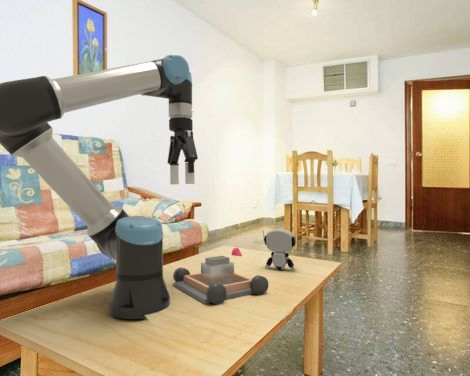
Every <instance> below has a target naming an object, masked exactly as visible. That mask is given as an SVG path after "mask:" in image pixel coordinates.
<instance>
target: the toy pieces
mask: <svg viewBox="0 0 470 376" xmlns="http://www.w3.org/2000/svg"><path fill="white" fill-rule="evenodd" d="M231 256H235V257H243V255H242V252H241V251H240V248H239V247H234V248H233V249H232V251H231Z"/></svg>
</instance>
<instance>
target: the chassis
mask: <svg viewBox="0 0 470 376" xmlns="http://www.w3.org/2000/svg"><path fill="white" fill-rule="evenodd" d="M172 277H173V281H174V282H173V286H174V287H175V288H176V289H178V290H180V291H182V292H183V293H185V294H187V295H188V296H189V297H192V298H194V299H195V300H197V302H200V303H201V304H203V305H208V304H214V305H220V304H222V303H223V302H224V301H226V300H231V299H235V298H241V297H245V296H250V295H254V294H256V295H259V296H261V295H264V294H265V293H267V291H268V289H269V280H268V279H267V278H266V277H265V276H262V275H259V274H258V275H255V276H253V277H252V278H251V277H248V276H245V275H243V274H239V273H237V272H235V271H234V283H232V284H227V285H220V284H218V283H213V284H211V285H210V286H208V285H206V284H204V283H201V272H200V273H199V272H198V273H193V274H192V273H191V272H190V271H189V269H187V268H185V267H177V268H176V269H175V270H174V271H173V275H172Z"/></svg>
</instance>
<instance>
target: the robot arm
mask: <svg viewBox="0 0 470 376" xmlns="http://www.w3.org/2000/svg"><path fill="white" fill-rule="evenodd" d="M138 95H140V96H143V97H144V96H146V97H155V98H162V99H168V117H169V120H168V127H169V129H168V130H170V132H173V134H174V135H170V141H169V147H168V148H169V149H168V156H167V164H168V165H169V173H170V174H169V177H170V179H169V180H170V181H169V183H170V185H179V183H180V181H179V178H180V177H179V176H180V175H179V174H180V173H179V168H180V167H179V166H180V164H179V160H180V159H179V158H180V155H181V153H183V155H184V156H183V157H184V158H185V159H184V168H185V171H184V172H185V173H184V174H185V175H184V179H185V180H184V182H185V185H195V184H196V183H195V181H196V179H195V163H196V161H197V160H198V159H199V158H198V154H197V149H196V148H197V147H196V144H195V140H194V132H193V130H194V129H193V119H192V118H193V113H194V109H193V78H192V73H191V71H190V67H189V63H188V61H187V59H185V57H184V56H182V55H181V54H179V53H171V54H168V55H165V56H164V57H163V58H159V59H154V60H151V61H150V60H149V61H144V62H139V63H134V64H127V65H121V66H117V67H111V68H107V69H101V70H97V71H90V72H85V73H80V74H74V75H69V76H68V75H67V76H63V77H58V78H50V77H49V76H47V75H42V76H37V77H30V78H23V79H16V80H10V81H5V82H0V145H1V147H3V148H4V149H5V151H6V152H7V153H9V154H10V155H11V156H12V157H16V158H17V157H18V158H22V159H23V160H24V161H25V162H26V163H27V164H28V165H29V166H30V167H31V168H32V169H33V170H34V171H35V172H36V173H37V175H38V176H39V177H40V178H41V179H42V180H43V181H44V182H45V183H46V184H47V185H48V186H49V187H50V189H52V190H53V191H54V192H55V194H56V195H58V197H59V198H60V199H61V200H62V201H63V202H64V203H65V204H66V205H67V206H68V207H69V208H70V210H72V212H73V213H74V214H75V215H77V216H78V217H79V219H80V220H81V221H82V222H83V223H84V224H85V225H86V226H87V230H86V232H87V236H89V238H90V239H91V240H92V241H93V242H94V243H95V244H96V246H97V248H98V250H99V251H100V252H101V254H102V255H104V256H106V257H107V258H110V259H114V260H115V261H116V262H115V263H116V265H115V267H116V269H115V270H116V282H115V285H114V288H113V291H112V294H111V298H110V301H109V314H110V315H111V316H112V317H114V318H118V319H124V320H137V319H138V320H139V319H146V318H147V316H146V315H151V314H152V315H153V314H155V313H159V312H161V311H164V310H165V309H168V307H169V306H170V305H171V297H170V293H169V291H168V288H167V285H166V282H165V280H164V247H163V246H164V244H163V241H164V240H163V239H164V232H163V224H162V222H161V221H160V220H159V219H157V218H155V217H150V216H148V217H147V216H135V215H134V216H133V215H132V216H129V214H128V213H127V212H126V210H124V209H123V208H122V206H118V205H117V206H114V205H112V203H111V202H110V201H109V200H108V199H107V197H106V196H104V194H103V193H102V192H101V191H100V190H99V188H97V186H96V185H95V184H94V182H92V181H91V179H90V178H89V177H88V176H87V175H86V174H85V173H84V172H83V170H82V169H81V168H80V167H79V166H78V165H77V164H76V162H75V161H74V160H73V159H72V158H71V157H70V156H69V155H68V154H67V152H66V151H65V150H64V149H63V147H62V146H61V145H60V144H59V143H58V142H57V141H56V140H55V139H54V138H53V137H54V136H53V131H54V129H53V127H52V126H51V125H50V123H49V122H52V121H56V120H60V119H62V118H63V116H64V114H65V113H69V112H72V111H74V112H75V111H77V110H81V109H85V108H89V107H93V106H97V105H102V104H106V103H110V102H113V101H118V100H122V99H125V98H129V97H134V96H138ZM181 151H182V152H181Z"/></svg>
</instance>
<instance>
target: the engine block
mask: <svg viewBox="0 0 470 376" xmlns="http://www.w3.org/2000/svg"><path fill="white" fill-rule="evenodd" d="M234 272H235V262H233V261H230V257H229V256H225V255H219V256H218V255H217V256H211V257H210V256H209V257H205V259H204V262H200V273H201V283H204V284H206V285H208V286H210V285H211V284H213V283H218V284H220V285H227V284H232V283H234Z"/></svg>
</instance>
